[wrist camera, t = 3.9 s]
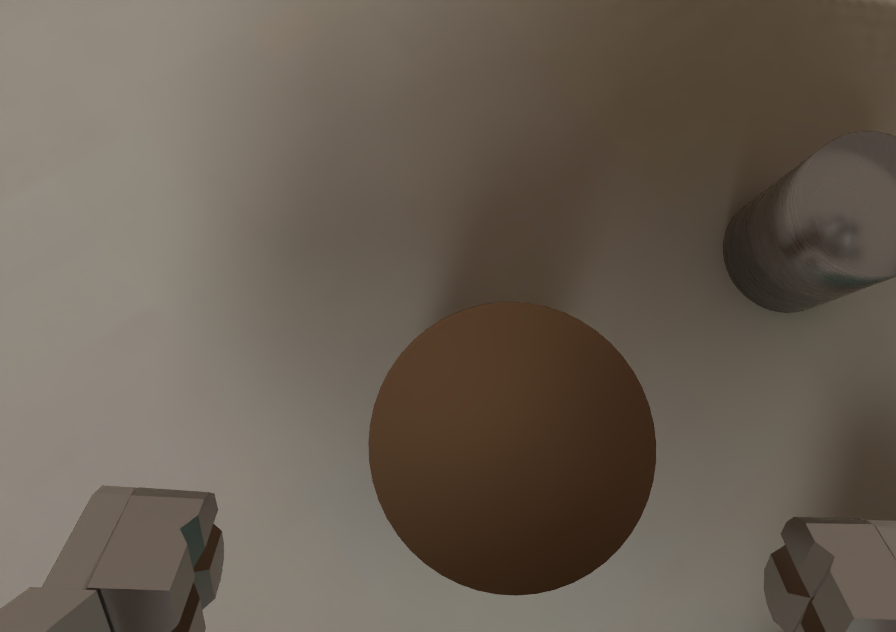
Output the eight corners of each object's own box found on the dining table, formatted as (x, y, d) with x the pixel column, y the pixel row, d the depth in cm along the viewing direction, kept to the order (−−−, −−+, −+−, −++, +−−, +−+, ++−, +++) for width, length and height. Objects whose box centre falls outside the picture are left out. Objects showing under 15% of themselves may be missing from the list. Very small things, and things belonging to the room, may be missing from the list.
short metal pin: (707, 284, 19) (783, 240, 15) (743, 179, 20) (826, 109, 16) (822, 331, 19) (929, 299, 15) (855, 223, 19) (966, 164, 15)
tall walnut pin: (374, 485, 18) (321, 525, 8) (425, 364, 18) (435, 259, 8) (496, 536, 17) (599, 643, 8) (543, 413, 18) (693, 365, 8)
